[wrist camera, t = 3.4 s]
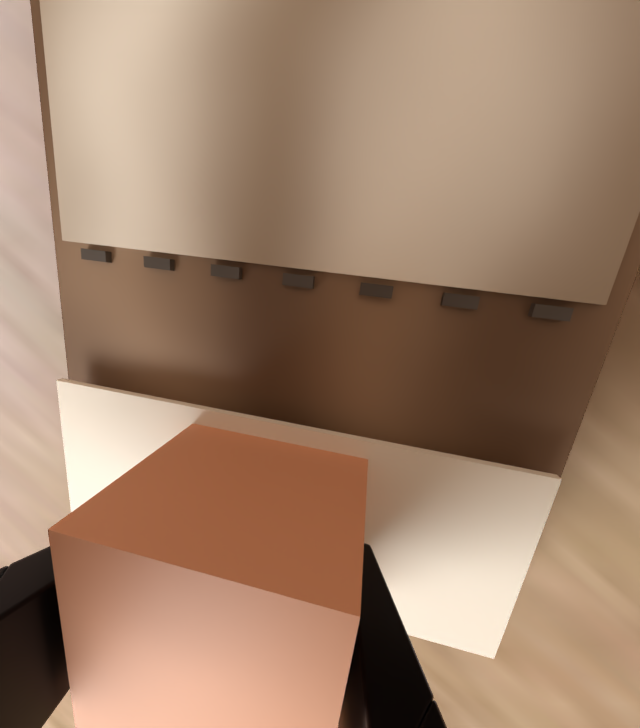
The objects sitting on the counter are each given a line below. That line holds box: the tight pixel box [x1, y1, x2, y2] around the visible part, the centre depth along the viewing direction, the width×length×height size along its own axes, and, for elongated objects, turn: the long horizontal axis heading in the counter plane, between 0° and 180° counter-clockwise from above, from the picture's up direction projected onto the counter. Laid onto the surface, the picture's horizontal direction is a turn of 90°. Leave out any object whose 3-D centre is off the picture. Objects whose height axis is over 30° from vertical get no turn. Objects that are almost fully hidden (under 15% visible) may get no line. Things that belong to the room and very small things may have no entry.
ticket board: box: [30, 0, 640, 477], centre depth 8 cm, size 15×18×2 cm
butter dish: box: [48, 379, 562, 728], centre depth 7 cm, size 14×6×4 cm, turn 83°
